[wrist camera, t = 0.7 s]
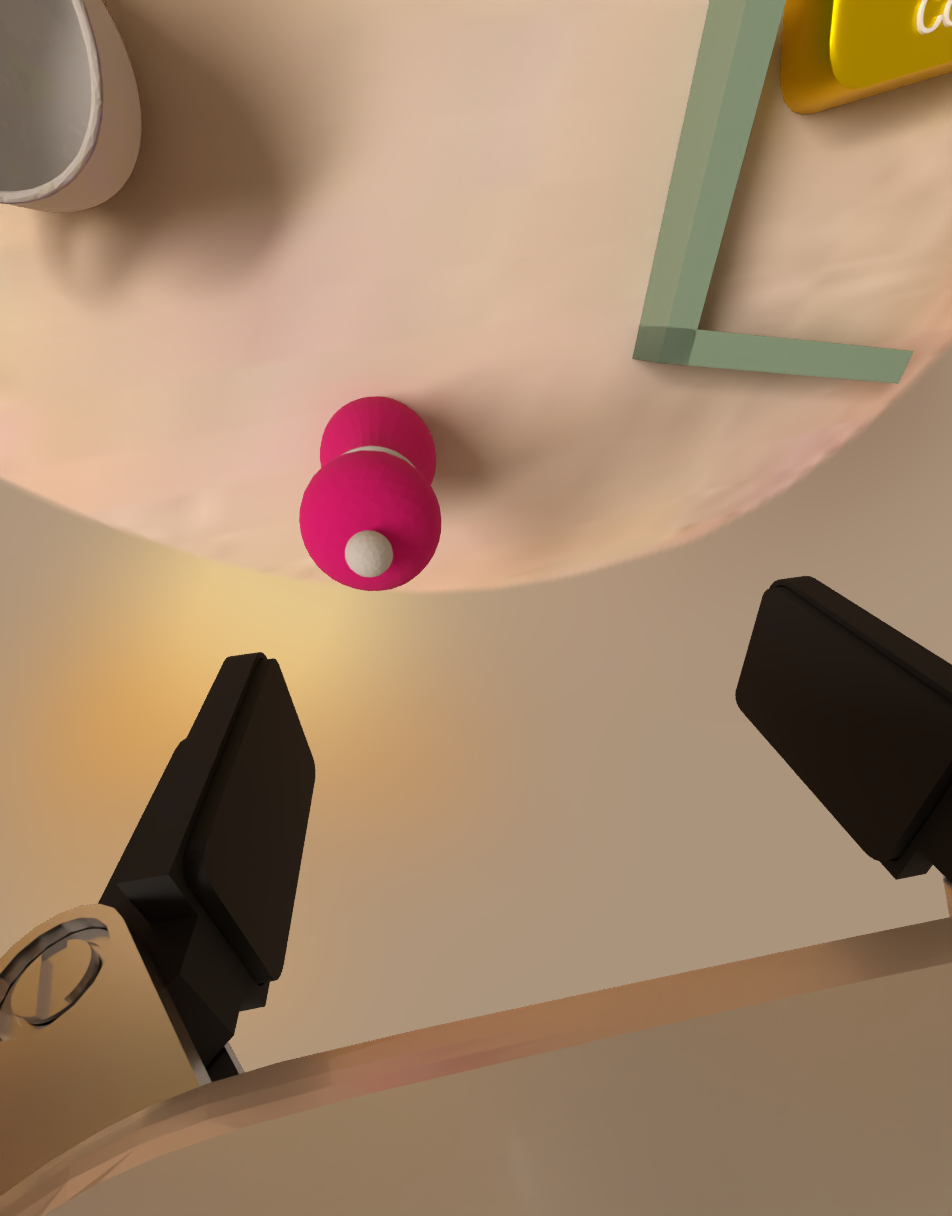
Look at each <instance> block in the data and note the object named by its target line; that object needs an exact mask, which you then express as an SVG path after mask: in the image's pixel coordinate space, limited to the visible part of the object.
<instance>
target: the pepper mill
mask: <svg viewBox="0 0 952 1216" xmlns="http://www.w3.org/2000/svg"><path fill="white" fill-rule="evenodd" d="M320 462H321V469H320V470H319V471H318V472H317V473H316V474H315V475H314V476H313V478H312V480H311V481H310V483H309V485H308V487H307V488H306V490H305V492H304V495H303V499H302V503H301V507H300V518H299V521H300V529H301V535H302V538H303V541H304V545H305V547H306V549H307V551H308V553H309V555H310V556H311V558H312V559H313V561H314V562H315V563H316V565H317V566H318V567H319V568H320V569H321V570H322V571H323V572H324V573H326V574H327V575H328V576H329V577H331V578H332V579H334V580H335V581H337V582H339V583H341V584H343V585H346V586H349V587H352V588H355V589H360V590H366V591H380V590H388V589H393V588H395V587H398V586H401V585H403V584H405V583H407V582H409V581H410V580H411V579H413V578H414V577H415V576H417V575H418V574H419V573H420V572H421V571H422V570H423V569H424V568H425V567H426V565H427V564H428V563H429V562H430V560H431V558H432V557H433V555H434V553H435V550H436V548H437V545H438V543H439V539H440V534H441V514H440V507H439V504H438V501H437V498H436V495H435V493H434V491H433V489H432V487H431V486H430V485H431V483H432V481H433V477H434V474H435V467H436V453H435V446H434V442H433V439H432V436H431V434H430V432H429V430H428V428H427V426H426V425H425V423H424V422H423V421H422V419H421V418H420V417H419V416H418V415H417V414H416V413H415V412H414V411H413V410H411V409H410V408H408V407H407V406H405V405H404V404H402V403H400V402H398V401H396V400H393V399H390V398H386V397H366V398H361V399H358V400H355V401H352V402H350V403H348V404H347V405H345V406H343V407H342V408H341V409H340V410H338V411H337V412H336V413H335V414H334V416H333V417H332V418H331V419H330V421H329V423H328V424H327V426H326V428H325V431H324V434H323V436H322V442H321V447H320Z"/></svg>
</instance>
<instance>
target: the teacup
mask: <svg viewBox="0 0 952 1216" xmlns="http://www.w3.org/2000/svg"><path fill="white" fill-rule="evenodd" d="M140 141H141V107H140V100H139V94H138V88H137V84H136V80H135V75H134V72H133V69H132V66H131V62H130V59H129V57H128V54H127V52H126V49H125V46H124V44H123V41H122V39H121V36H120V34H119V32H118V30H117V28H116V26H115V24H114V22H113V20H112V18H111V16H110V14H109V12H108V11H107V9H106V7H105V5H104V3H103V2H102V0H0V203H2V204H11V205H15V206H18V207H24V208H29V209H34V210H40V211H47V212H76V211H81V210H85V209H89V208H92V207H95V206H98V205H99V204H101V203H103V202H105V201H107V200H108V199H110V198H111V197H112V196H114V195H115V194H116V193H117V192H118V191H119V190H120V189H121V188H122V187H123V185H124V184H125V183H126V181H127V180H128V178H129V177H130V175H131V173H132V171H133V168H134V166H135V163H136V160H137V157H138V153H139V149H140Z"/></svg>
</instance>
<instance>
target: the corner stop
mask: <svg viewBox="0 0 952 1216" xmlns="http://www.w3.org/2000/svg"><path fill="white" fill-rule="evenodd" d="M785 3H786V0H710V3H709V8H708V12H707V17H706V22H705V26H704V31H703V36H702V40H701V45H700V49H699V54H698V59H697V63H696V68H695V72H694V77H693V82H692V86H691V91H690V95H689V100H688V105H687V109H686V114H685V119H684V123H683V128H682V132H681V137H680V142H679V146H678V151H677V155H676V160H675V165H674V169H673V174H672V179H671V183H670V188H669V192H668V197H667V202H666V206H665V211H664V215H663V220H662V225H661V229H660V234H659V238H658V243H657V248H656V252H655V257H654V262H653V266H652V271H651V275H650V280H649V285H648V289H647V294H646V298H645V303H644V308H643V312H642V317H641V322H640V326H639V331H638V335H637V340H636V345H635V349H634V354H633V358H632V359H638V360H644V361H650V362H656V363H666V364H677V365H689V366H701V367H712V368H724V369H735V370H747V371H758V372H770V373H781V374H793V375H804V376H816V377H827V378H839V379H851V380H862V381H874V382H885V383H897V384H898V383H899V381H900V379H901V377H902V374H903V372H904V370H905V368H906V366H907V364H908V362H909V360H910V358H911V355H912V353H913V351H907V350H897V349H887V348H877V347H867V346H857V345H847V344H837V343H827V342H817V341H807V340H797V339H787V338H777V337H767V336H757V335H747V334H737V333H728V332H718V331H708V330H698V325H699V322H700V318H701V314H702V311H703V307H704V303H705V300H706V296H707V292H708V288H709V285H710V281H711V277H712V274H713V270H714V266H715V262H716V259H717V255H718V251H719V248H720V244H721V240H722V236H723V233H724V229H725V225H726V222H727V218H728V214H729V210H730V207H731V203H732V199H733V196H734V192H735V188H736V185H737V181H738V177H739V173H740V170H741V166H742V162H743V159H744V155H745V151H746V147H747V144H748V140H749V136H750V133H751V129H752V125H753V121H754V118H755V114H756V110H757V107H758V103H759V99H760V96H761V92H762V88H763V84H764V81H765V77H766V73H767V70H768V66H769V62H770V58H771V55H772V51H773V47H774V44H775V40H776V36H777V32H778V29H779V25H780V21H781V18H782V14H783V10H784V6H785Z"/></svg>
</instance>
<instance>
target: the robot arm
mask: <svg viewBox="0 0 952 1216" xmlns="http://www.w3.org/2000/svg"><path fill="white" fill-rule="evenodd" d="M735 695H736V701H737V704H738V707H739V708H740V710H741V711H742V712H743V713H744V714H745V716H746V717H747V718H748V719H749V720H750V721H751V722H752V724H753V725H754V726H755V727H756V728H757V729H758V730H759V732H760V733H761V734H762V735H763V736H764V737H765V739H766V740H767V741H768V742H769V743H770V744H771V745H772V747H774V749H775V750H776V751H777V752H778V753H779V754H780V756H781V757H782V758H783V759H784V760H785V761H786V762H787V764H788V765H789V766H790V767H791V768H792V769H793V770H794V772H795V773H796V774H797V775H798V776H799V777H800V779H801V780H802V781H803V782H804V783H805V784H806V785H807V786H808V788H809V789H810V790H811V791H812V792H813V793H814V794H815V796H816V797H817V798H818V799H819V800H820V801H821V802H822V804H823V805H824V806H825V807H826V808H827V809H828V811H829V812H830V813H831V814H832V815H833V816H834V818H835V819H836V820H837V821H838V822H839V823H840V824H841V826H842V827H843V828H844V829H845V830H846V831H847V832H848V834H849V835H850V836H851V837H852V838H853V839H854V840H855V842H856V843H857V844H858V845H859V846H860V847H861V848H862V850H863V851H865V853H866V854H867V855H869V856H870V857H871V858H873V859H875V860H878V861H880V862H881V863H882V865H883V866H884V867H885V868H886V869H887V870H888V871H889V872H890V874H891V875H892V876H893V877H894V878H895V879H896V880H897V879H902V878H907V877H911V876H917V875H922V874H926V873H927V872H928V870H929V869H930V868H931V866H932V865H934V866H935V867H936V868H937V869H938V870H939V871H940V872H941V873H942V874H943V875H944V876H943V880H944V886H945V892H946V898H947V903H948V909H949V915H950V917H949V918H944V919H939V920H935V921H929V922H924V923H920V924H915V925H910V926H905V927H900V928H895V929H890V930H885V931H881V932H876V933H871V934H866V935H861V936H856V937H851V938H846V939H842V940H837V941H832V942H828V943H822V944H818V945H813V946H808V947H803V948H799V949H794V950H789V951H784V952H779V953H775V954H770V955H765V956H761V957H756V958H751V959H746V960H742V961H737V962H732V963H727V964H723V965H718V966H713V967H708V968H704V969H699V970H694V971H689V972H684V973H680V974H675V975H670V976H665V977H661V978H656V979H651V980H646V981H642V982H637V983H633V984H627V985H623V986H619V987H613V988H609V989H604V990H599V991H595V992H590V993H586V994H581V995H576V996H572V997H567V998H563V999H558V1000H553V1001H548V1002H544V1003H539V1004H535V1005H530V1006H526V1007H521V1008H517V1009H511V1010H507V1011H502V1012H497V1013H493V1014H488V1015H484V1016H479V1017H475V1018H470V1019H465V1020H461V1021H456V1022H451V1023H447V1024H442V1025H437V1026H433V1027H428V1028H424V1029H419V1030H415V1031H410V1032H407V1033H402V1034H398V1035H393V1036H389V1037H385V1038H381V1039H377V1040H373V1041H368V1042H364V1043H359V1044H355V1045H351V1046H347V1047H343V1048H338V1049H334V1050H330V1051H326V1052H322V1053H317V1054H313V1055H309V1056H305V1057H301V1058H296V1059H292V1060H287V1061H283V1062H280V1063H276V1064H273V1065H269V1066H266V1067H263V1068H259V1069H256V1070H252V1071H249V1072H244V1070H243V1068H242V1066H241V1064H240V1063H239V1061H238V1059H237V1057H236V1055H235V1053H234V1051H233V1049H232V1047H231V1046H230V1044H229V1042H228V1041H229V1040H230V1039H231V1038H232V1037H233V1036H234V1032H235V1028H236V1023H237V1019H238V1014H239V1011H244V1010H249V1009H254V1008H259V1007H264V1006H265V1005H266V999H267V994H268V988H269V983H270V981H275V980H278V978H279V977H280V975H281V972H282V969H283V965H284V959H285V954H286V948H287V941H288V935H289V930H290V924H291V918H292V912H293V906H294V900H295V894H296V888H297V883H298V876H299V871H300V865H301V859H302V853H303V847H304V841H305V835H306V829H307V823H308V817H309V812H310V806H311V799H312V794H313V788H314V782H315V764H314V760H313V757H312V754H311V751H310V748H309V746H308V743H307V740H306V737H305V735H304V732H303V729H302V726H301V724H300V721H299V718H298V715H297V713H296V710H295V707H294V705H293V702H292V699H291V696H290V694H289V691H288V688H287V685H286V683H285V680H284V677H283V674H282V672H281V669H280V666H279V664H278V662H277V660H276V659H267V657H266V656H265V655H264V654H263V653H261V652H258V653H251V654H244V655H237V656H230V657H227V658H226V659H225V661H224V662H223V665H222V667H221V669H220V671H219V673H218V675H217V677H216V679H215V681H214V683H213V685H212V687H211V689H210V691H209V693H208V695H207V697H206V699H205V701H204V704H203V706H202V708H201V710H200V712H199V714H198V716H197V718H196V720H195V722H194V724H193V726H192V728H191V730H190V732H189V734H188V736H187V738H186V739H184V740H183V741H182V742H180V744H179V745H178V746H177V748H176V749H175V751H174V753H173V755H172V757H171V759H170V761H169V763H168V765H167V767H166V769H165V771H164V773H163V775H162V777H161V779H160V781H159V783H158V785H157V787H156V789H155V791H154V793H153V795H152V797H151V799H150V801H149V803H148V805H147V807H146V809H145V811H144V813H143V815H142V817H141V819H140V821H139V823H138V825H137V827H136V829H135V831H134V833H133V835H132V837H131V839H130V841H129V843H128V845H127V847H126V849H125V851H124V853H123V855H122V857H121V859H120V861H119V863H118V865H117V867H116V869H115V871H114V873H113V875H112V877H111V879H110V881H109V883H108V885H107V887H106V889H105V891H104V893H103V895H102V897H101V899H100V901H99V903H98V904H92V905H82V906H79V907H75V908H73V909H70V910H67V911H65V912H62V913H59V914H57V915H56V916H54V917H52V918H50V919H49V920H47V921H45V922H44V923H42V924H40V925H38V926H37V927H35V928H34V929H33V930H32V931H30V932H29V933H28V934H26V935H25V936H24V937H23V938H21V939H20V940H19V941H18V942H16V943H15V944H14V945H13V946H12V947H11V948H10V949H9V950H8V951H7V952H6V953H5V954H4V955H3V956H2V957H1V958H0V1216H952V665H951V664H950V663H948V662H946V661H945V660H943V659H942V658H940V657H939V656H937V655H935V654H934V653H932V652H931V651H929V650H927V649H926V648H924V647H923V646H921V645H919V644H918V643H916V642H915V641H913V640H912V639H910V638H908V637H907V636H905V635H903V634H902V633H900V632H899V631H897V630H896V629H894V628H892V627H891V626H889V625H888V624H886V623H885V622H883V621H881V620H880V619H878V618H877V617H875V616H873V615H872V614H870V613H869V612H867V611H866V610H864V609H862V608H861V607H859V606H858V605H856V604H854V603H853V602H851V601H849V600H848V599H847V598H845V597H843V596H842V595H840V594H839V593H837V592H835V591H834V590H832V589H831V588H829V587H827V586H826V585H824V584H823V583H821V582H820V581H818V580H816V579H815V578H813V577H810V576H802V577H794V578H787V579H780V580H777V581H775V582H774V583H773V584H772V585H771V586H770V588H769V589H768V590H766V591H765V592H764V594H763V597H762V600H761V604H760V607H759V611H758V614H757V618H756V622H755V625H754V629H753V632H752V636H751V639H750V643H749V646H748V650H747V653H746V657H745V661H744V664H743V667H742V671H741V675H740V678H739V682H738V685H737V689H736V694H735Z"/></svg>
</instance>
